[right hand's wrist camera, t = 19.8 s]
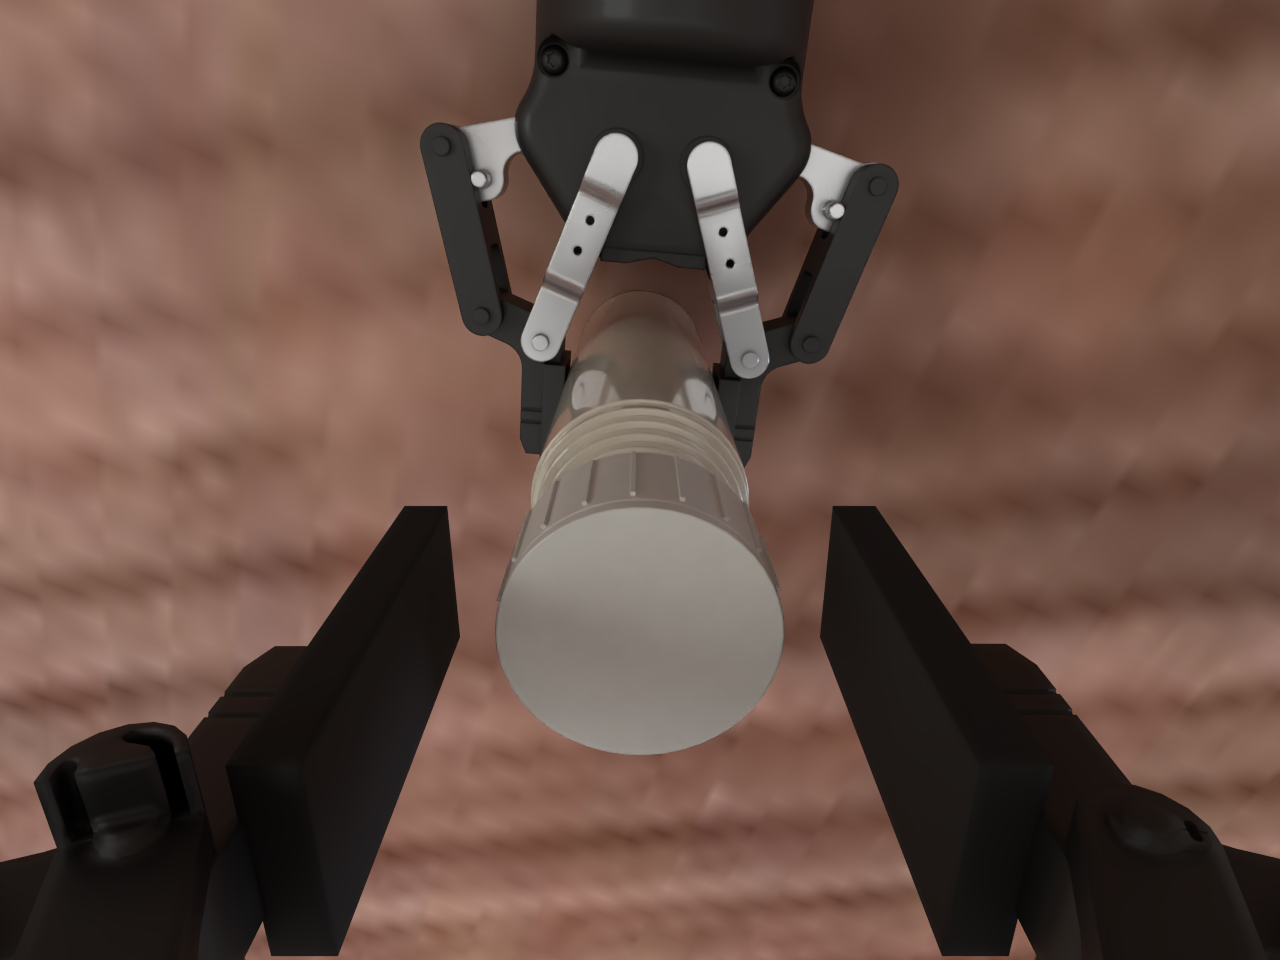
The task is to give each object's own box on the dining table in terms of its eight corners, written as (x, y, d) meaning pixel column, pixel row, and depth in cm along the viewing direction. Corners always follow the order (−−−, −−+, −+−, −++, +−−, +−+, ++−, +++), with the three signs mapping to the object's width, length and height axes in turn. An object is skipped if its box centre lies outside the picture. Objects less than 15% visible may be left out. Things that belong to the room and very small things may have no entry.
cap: (462, 552, 15) (428, 625, 12) (654, 394, 14) (658, 441, 11) (626, 709, 16) (623, 802, 14) (814, 578, 15) (846, 653, 13)
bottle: (724, 352, 32) (846, 621, 13) (639, 432, 33) (638, 782, 14) (640, 264, 30) (642, 422, 12) (554, 351, 32) (432, 618, 13)
